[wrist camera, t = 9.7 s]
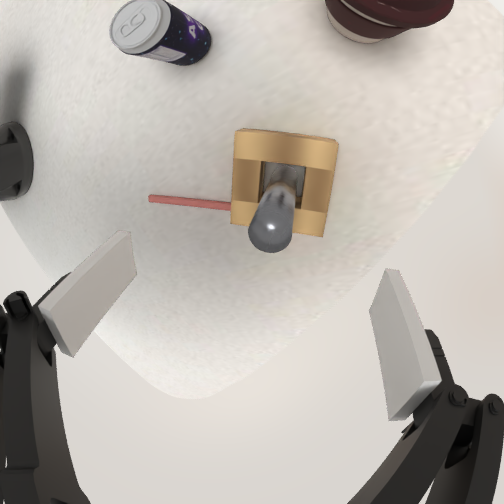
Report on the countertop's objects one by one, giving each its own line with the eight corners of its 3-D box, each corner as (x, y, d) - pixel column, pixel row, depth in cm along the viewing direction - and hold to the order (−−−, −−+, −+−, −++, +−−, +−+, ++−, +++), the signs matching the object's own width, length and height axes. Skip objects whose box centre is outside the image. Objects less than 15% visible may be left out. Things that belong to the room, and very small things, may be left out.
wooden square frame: (238, 210, 34) (230, 223, 30) (243, 128, 29) (235, 131, 25) (320, 222, 33) (322, 237, 29) (334, 139, 28) (338, 144, 24)
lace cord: (150, 200, 35) (148, 201, 35) (150, 194, 35) (148, 196, 34) (238, 209, 34) (237, 211, 33) (238, 203, 33) (237, 205, 33)
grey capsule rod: (271, 186, 32) (247, 249, 19) (274, 163, 30) (249, 210, 17) (296, 190, 31) (288, 255, 18) (299, 166, 30) (294, 216, 17)
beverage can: (222, 49, 24) (177, 22, 14) (180, 75, 26) (120, 66, 16) (199, 15, 22) (148, -18, 12) (160, 42, 24) (97, 24, 14)
